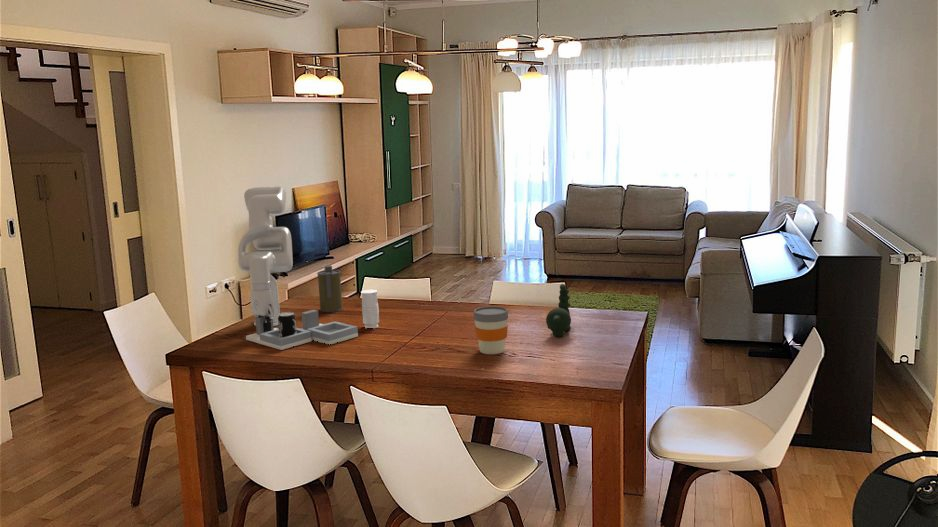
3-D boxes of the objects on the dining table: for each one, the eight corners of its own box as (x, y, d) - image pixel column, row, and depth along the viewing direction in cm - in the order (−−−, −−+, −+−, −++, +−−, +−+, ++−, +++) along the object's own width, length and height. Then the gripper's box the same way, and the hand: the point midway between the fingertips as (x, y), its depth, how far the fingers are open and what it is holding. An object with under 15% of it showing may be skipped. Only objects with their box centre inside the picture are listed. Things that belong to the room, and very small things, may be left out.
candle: (369, 330, 312) (366, 294, 310) (359, 326, 318) (357, 291, 315) (383, 326, 317) (381, 291, 314) (373, 323, 322) (371, 288, 319)
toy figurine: (553, 328, 311) (543, 340, 287) (552, 282, 309) (542, 290, 285) (576, 329, 308) (568, 341, 284) (576, 282, 306) (568, 290, 282)
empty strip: (292, 334, 309) (290, 314, 307) (320, 327, 319) (319, 307, 317) (329, 344, 293) (328, 323, 291) (358, 336, 303) (356, 315, 302)
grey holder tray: (246, 339, 305) (244, 318, 303) (276, 331, 315) (274, 311, 313) (281, 350, 289) (279, 328, 287) (311, 341, 299) (310, 320, 297)
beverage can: (292, 346, 294) (290, 316, 291) (277, 346, 295) (274, 315, 293) (300, 341, 300) (297, 311, 298) (284, 341, 301) (282, 311, 299)
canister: (320, 307, 354) (317, 264, 350) (343, 305, 355) (340, 263, 351) (318, 313, 343) (315, 269, 339) (342, 311, 344) (339, 268, 340)
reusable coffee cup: (475, 345, 285) (473, 306, 283) (508, 344, 285) (507, 305, 282) (474, 356, 273) (472, 315, 270) (509, 355, 273) (508, 314, 270)
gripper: (241, 285, 307) (245, 330, 310) (264, 290, 296) (268, 336, 299) (257, 282, 312) (261, 325, 315) (281, 286, 301) (285, 332, 305)
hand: (265, 330), depth 307 cm, fingers closed on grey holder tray, 3 cm apart
